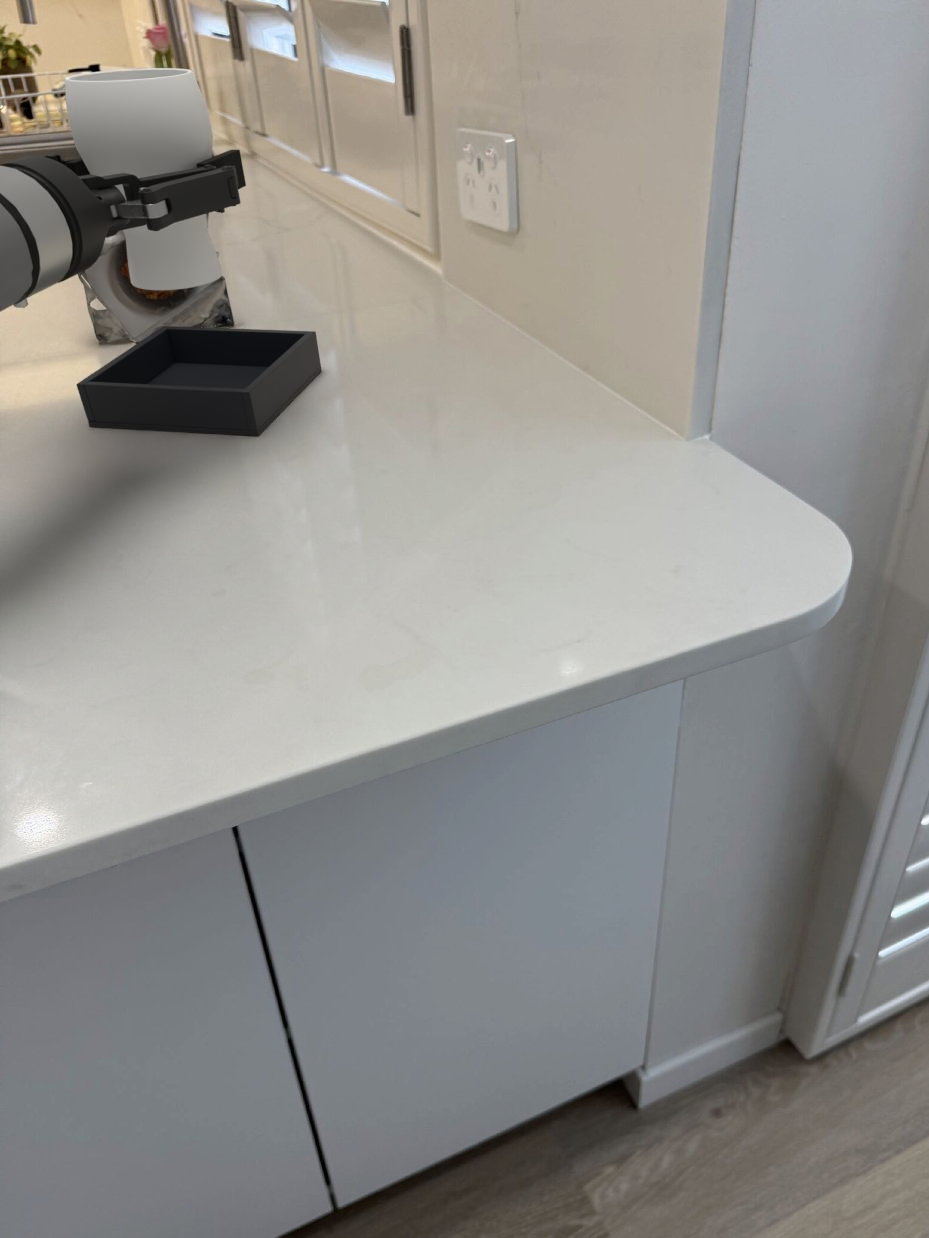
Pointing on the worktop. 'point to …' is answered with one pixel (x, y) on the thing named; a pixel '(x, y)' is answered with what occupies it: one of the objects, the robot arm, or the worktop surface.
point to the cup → (148, 160)
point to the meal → (146, 299)
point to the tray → (202, 380)
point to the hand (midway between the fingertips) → (176, 167)
